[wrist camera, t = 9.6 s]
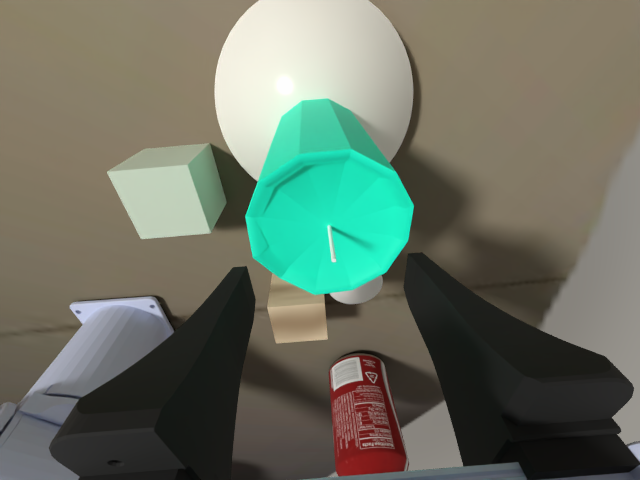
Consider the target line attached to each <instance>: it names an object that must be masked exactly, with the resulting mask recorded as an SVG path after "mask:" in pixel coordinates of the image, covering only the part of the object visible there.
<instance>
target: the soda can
mask: <svg viewBox="0 0 640 480" xmlns="http://www.w3.org/2000/svg"><path fill="white" fill-rule="evenodd" d="M329 384H330V398H331V412H332V425H333V439H334V453H335V466H336V472H337V474H338V476H339V477H340V476H352V475H365V474H377V473H390V472H402V471H407V470H408V466H409V461H408V456H407V452H406V448H405V444H404V440H403V436H402V432H401V428H400V424H399V420H398V416H397V412H396V408H395V404H394V400H393V396H392V392H391V388H390V385H389V381H388V377H387V373H386V369H385V365H384V363H383V361H382V360H381V359H379V358H378V357H376V356H374V355H370V354H364V353H354V354H349V355H346V356H344V357H341V358H339V359H338V360H336V361H335V362H334V363H333V364H332V365H331V367H330V369H329Z"/></svg>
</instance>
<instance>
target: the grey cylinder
mask: <svg viewBox="0 0 640 480" xmlns="http://www.w3.org/2000/svg"><path fill="white" fill-rule="evenodd" d="M382 284H383V279H382V275H380V276H378V277H377V278H375V279H373V280H371V281H369V282H367V283H365V284H363V285H361V286H360V287H358V288H356V289H354V290H350V291H343V292H335V293H330V295H331V296H332V297H333V298H334V299H335V300H337V301H339V302H342V303H345V304H359V303H363V302H366V301H368V300H370V299H372V298H373V297H374V296H376V295H377V294H378V292H379V291H380V289H381V287H382Z"/></svg>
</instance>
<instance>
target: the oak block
mask: <svg viewBox="0 0 640 480" xmlns="http://www.w3.org/2000/svg"><path fill="white" fill-rule="evenodd" d="M267 308H268V312H269V316H270V320H271V324H272V329H273V333H274V337H275V341H276V343H286V342H299V341H312V340H325V339H328V337H327V324H326V311H325V298H324V294H320V295H314V294H311V293H309V292H307V291H305V290H303V289H301V288H299V287H297V286H295V285H293V284H291V283H288V282H286V281H284V280H282V279H280V278H279V277H277V276H276V275H275V274H274V273H272V279H271V286H270V293H269V299H268V306H267Z"/></svg>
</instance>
